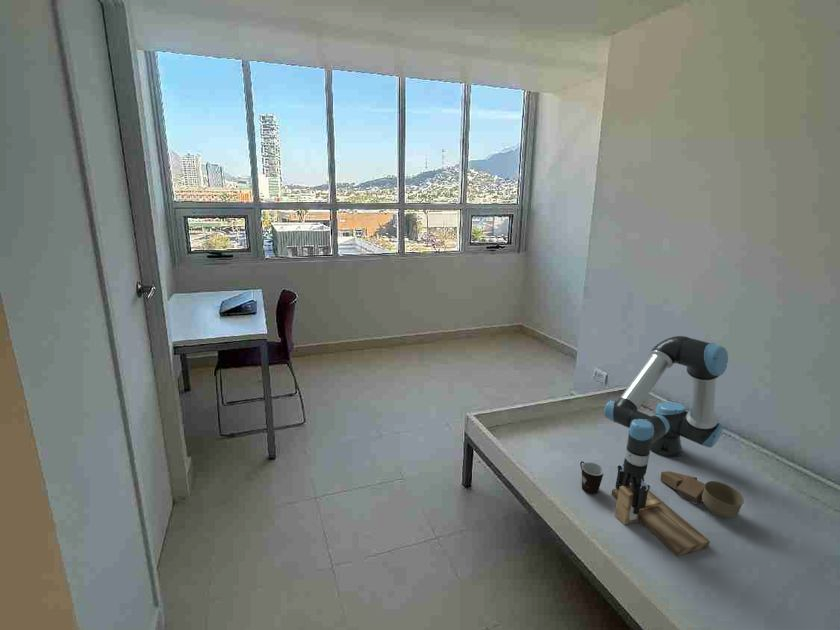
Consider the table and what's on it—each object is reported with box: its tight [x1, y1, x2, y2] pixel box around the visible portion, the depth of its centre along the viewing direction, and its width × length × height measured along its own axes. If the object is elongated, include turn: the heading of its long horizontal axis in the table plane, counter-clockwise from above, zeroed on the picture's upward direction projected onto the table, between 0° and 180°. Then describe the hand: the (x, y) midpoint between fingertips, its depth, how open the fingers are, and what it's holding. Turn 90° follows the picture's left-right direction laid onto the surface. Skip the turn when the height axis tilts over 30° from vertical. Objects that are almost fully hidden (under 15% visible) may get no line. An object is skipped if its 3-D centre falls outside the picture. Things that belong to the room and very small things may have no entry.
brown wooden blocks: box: [659, 470, 705, 505], centre depth 179 cm, size 8×13×18 cm
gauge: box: [614, 483, 661, 525], centre depth 163 cm, size 18×5×14 cm, turn 107°
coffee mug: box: [579, 460, 605, 495], centre depth 179 cm, size 12×9×10 cm
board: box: [611, 488, 711, 557], centre depth 163 cm, size 14×32×2 cm, turn 17°
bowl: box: [702, 480, 745, 518], centre depth 165 cm, size 13×13×10 cm
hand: (626, 513), depth 163 cm, fingers closed on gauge, 5 cm apart
